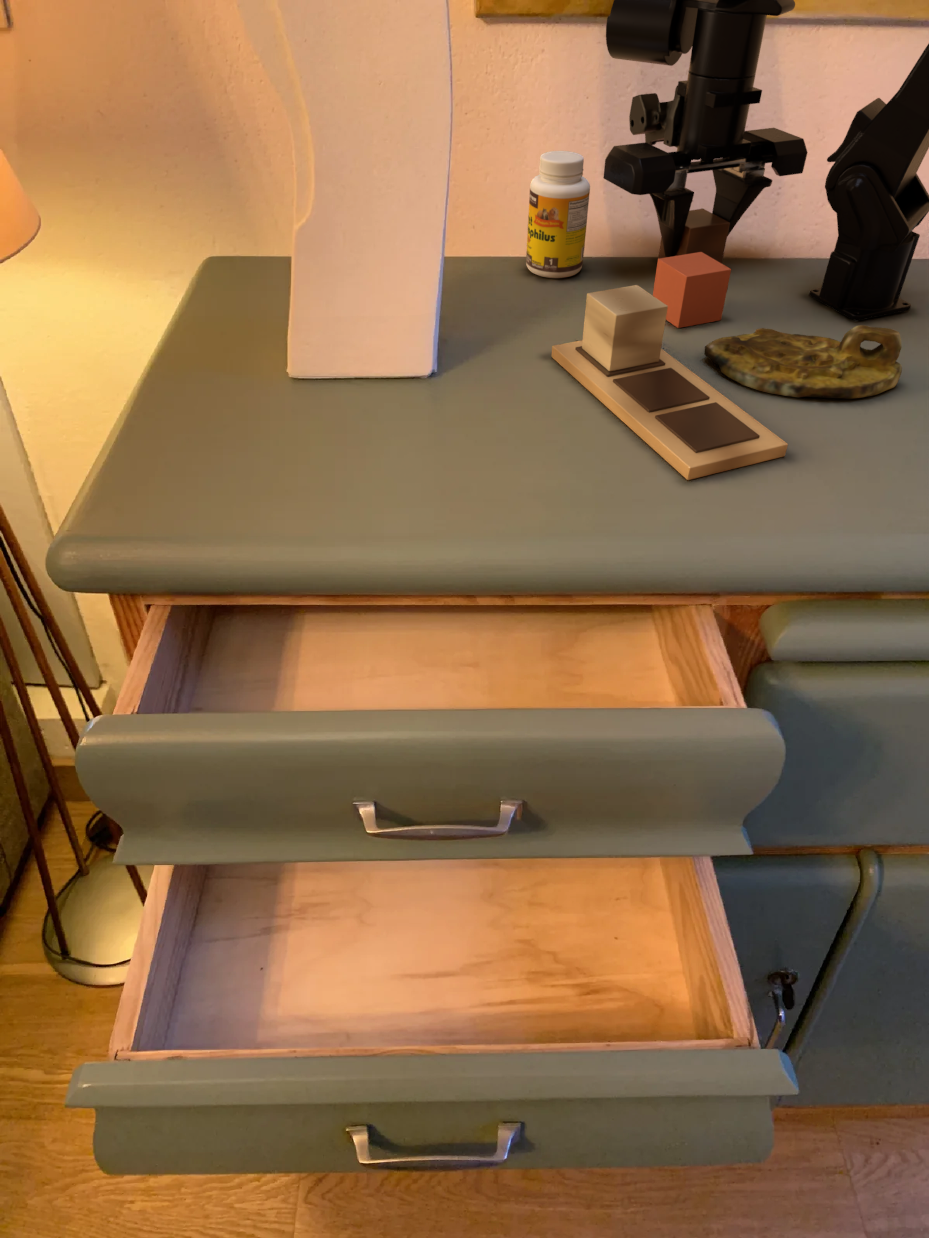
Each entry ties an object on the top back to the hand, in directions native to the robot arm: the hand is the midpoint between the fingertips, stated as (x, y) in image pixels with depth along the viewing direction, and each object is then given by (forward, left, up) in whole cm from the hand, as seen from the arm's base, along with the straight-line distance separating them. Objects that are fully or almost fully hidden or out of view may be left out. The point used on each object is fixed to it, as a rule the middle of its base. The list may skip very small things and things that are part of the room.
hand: (690, 255), depth 88 cm
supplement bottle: (+13, -4, -1) cm, 14 cm away
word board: (+18, +23, -1) cm, 29 cm away
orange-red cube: (+7, +10, -1) cm, 12 cm away
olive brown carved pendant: (+5, +23, -1) cm, 24 cm away
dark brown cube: (0, 0, -1) cm, 1 cm away
